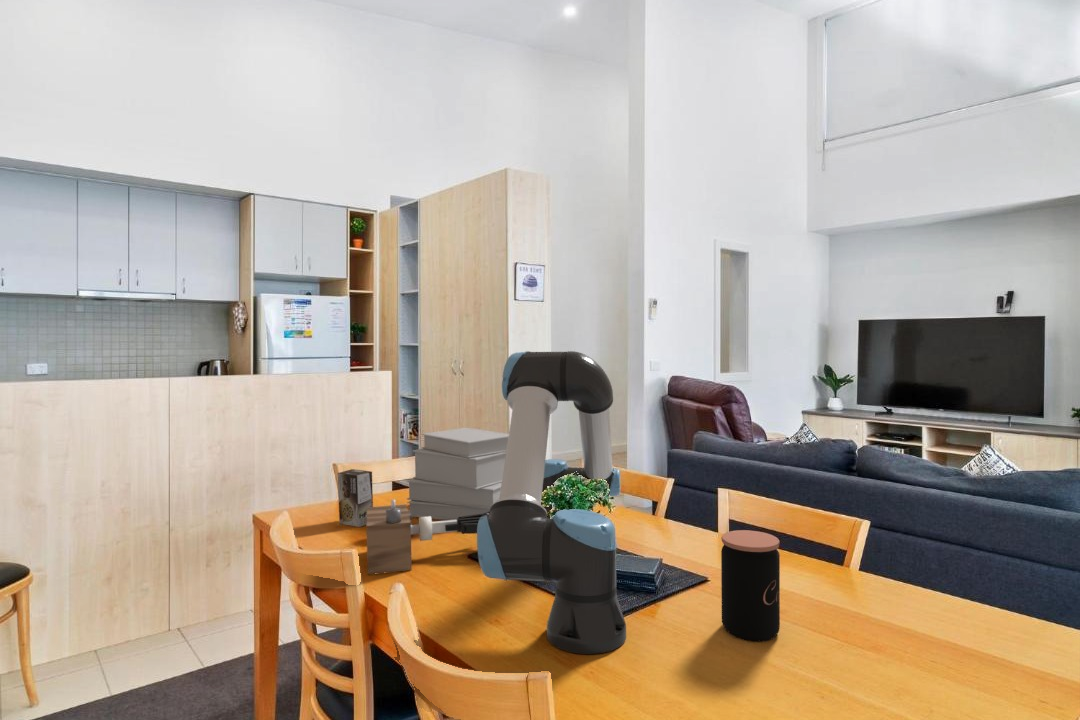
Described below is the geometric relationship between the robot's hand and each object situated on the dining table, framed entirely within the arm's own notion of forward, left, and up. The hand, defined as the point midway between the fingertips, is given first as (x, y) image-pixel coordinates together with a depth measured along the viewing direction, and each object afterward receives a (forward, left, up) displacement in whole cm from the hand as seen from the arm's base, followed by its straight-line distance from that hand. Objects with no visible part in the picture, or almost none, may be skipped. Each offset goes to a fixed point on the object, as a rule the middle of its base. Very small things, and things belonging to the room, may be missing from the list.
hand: (432, 527), depth 169 cm
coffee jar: (-61, -55, -8) cm, 83 cm away
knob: (0, +8, -3) cm, 8 cm away
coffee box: (+38, +20, -8) cm, 43 cm away
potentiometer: (-7, +10, +5) cm, 13 cm away
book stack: (+40, -15, -8) cm, 44 cm away
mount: (0, +11, -7) cm, 14 cm away
